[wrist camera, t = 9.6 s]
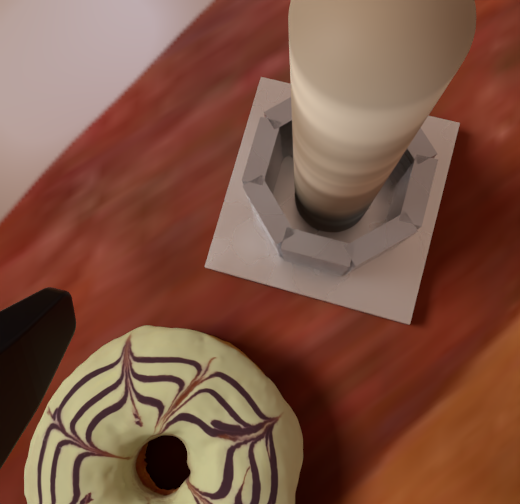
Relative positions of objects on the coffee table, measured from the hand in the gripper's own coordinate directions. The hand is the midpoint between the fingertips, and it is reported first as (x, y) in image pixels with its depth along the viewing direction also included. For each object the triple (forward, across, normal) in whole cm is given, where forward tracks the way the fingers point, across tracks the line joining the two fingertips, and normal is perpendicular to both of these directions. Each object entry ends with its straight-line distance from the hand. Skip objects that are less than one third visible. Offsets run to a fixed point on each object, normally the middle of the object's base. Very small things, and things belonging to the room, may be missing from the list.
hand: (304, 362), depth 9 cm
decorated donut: (+5, +4, +14) cm, 15 cm away
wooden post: (+13, 0, +4) cm, 14 cm away
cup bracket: (+14, 0, +5) cm, 14 cm away
